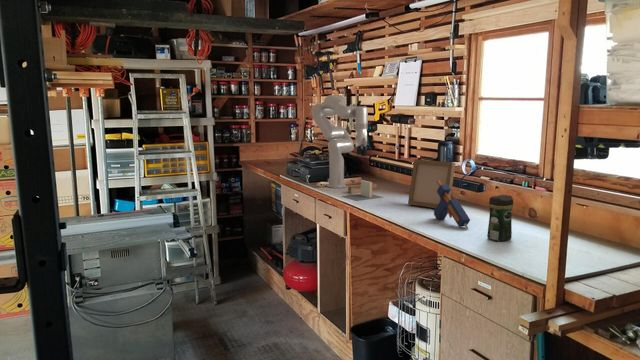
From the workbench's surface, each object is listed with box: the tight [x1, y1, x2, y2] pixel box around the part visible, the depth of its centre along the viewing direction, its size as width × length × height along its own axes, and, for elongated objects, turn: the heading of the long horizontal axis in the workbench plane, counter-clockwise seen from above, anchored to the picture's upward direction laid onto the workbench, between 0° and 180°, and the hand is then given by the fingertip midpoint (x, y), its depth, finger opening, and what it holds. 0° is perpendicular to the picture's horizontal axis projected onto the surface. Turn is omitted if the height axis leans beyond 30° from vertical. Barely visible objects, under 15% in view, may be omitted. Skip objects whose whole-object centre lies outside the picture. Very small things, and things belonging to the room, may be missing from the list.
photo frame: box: [407, 159, 456, 209], centre depth 266 cm, size 15×22×25 cm
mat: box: [340, 193, 384, 202], centre depth 290 cm, size 16×20×1 cm
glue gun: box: [433, 180, 471, 231], centre depth 233 cm, size 6×31×15 cm
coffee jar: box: [486, 194, 514, 242], centre depth 204 cm, size 10×8×19 cm
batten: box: [347, 182, 378, 195], centre depth 305 cm, size 3×20×5 cm, turn 124°
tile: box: [360, 179, 373, 198], centre depth 290 cm, size 9×2×9 cm, turn 32°
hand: (361, 155), depth 301 cm, fingers open, 9 cm apart
